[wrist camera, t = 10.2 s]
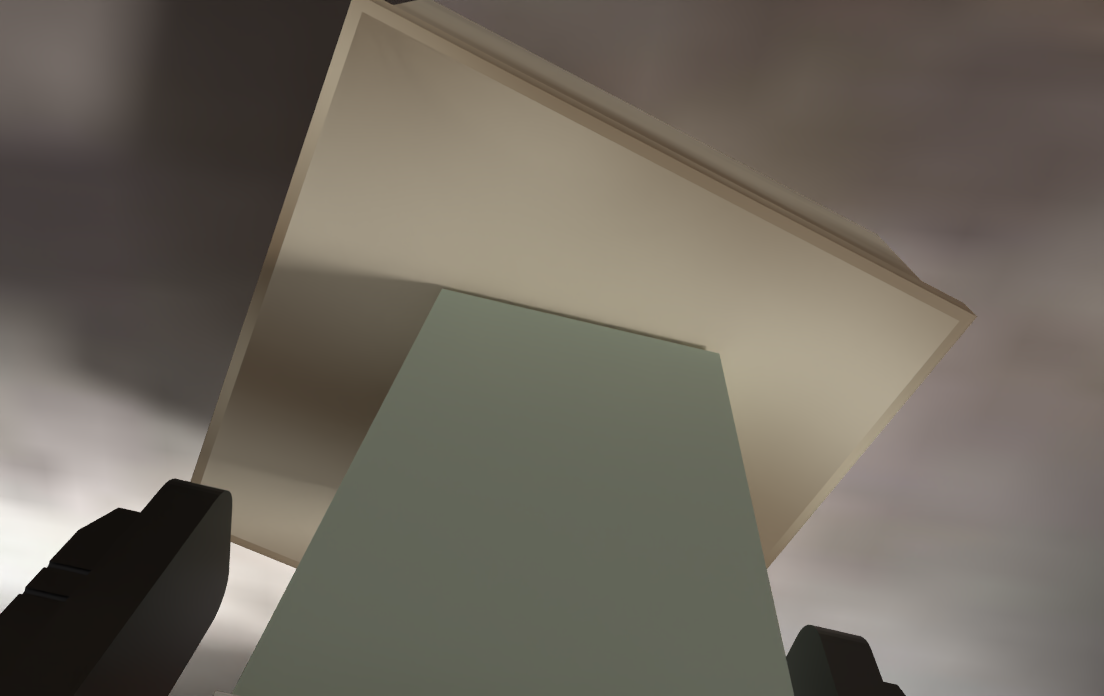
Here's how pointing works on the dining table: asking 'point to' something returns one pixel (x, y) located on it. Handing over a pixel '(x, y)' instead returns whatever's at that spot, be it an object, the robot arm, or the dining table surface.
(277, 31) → the dining table surface
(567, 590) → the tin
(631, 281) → the beige box
